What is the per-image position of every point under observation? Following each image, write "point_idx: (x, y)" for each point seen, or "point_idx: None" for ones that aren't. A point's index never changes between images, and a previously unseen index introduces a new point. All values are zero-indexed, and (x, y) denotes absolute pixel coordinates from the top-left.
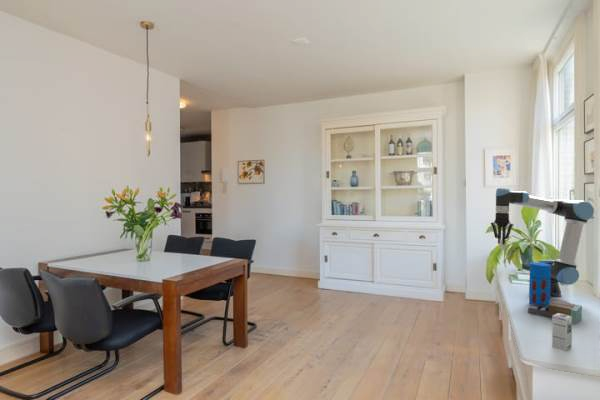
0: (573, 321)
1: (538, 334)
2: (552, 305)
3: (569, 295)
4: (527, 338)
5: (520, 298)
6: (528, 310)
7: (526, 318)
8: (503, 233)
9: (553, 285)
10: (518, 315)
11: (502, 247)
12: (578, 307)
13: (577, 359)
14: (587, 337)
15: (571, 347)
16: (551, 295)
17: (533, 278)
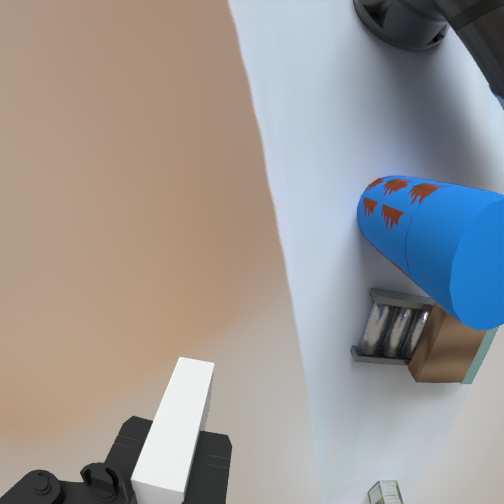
0: None
1: (355, 467)
2: (425, 380)
3: None
4: (332, 489)
5: (319, 155)
6: (353, 355)
7: (342, 401)
8: None
9: (444, 24)
10: (321, 391)
11: (206, 415)
12: (488, 345)
13: None
14: (443, 426)
15: (396, 481)
16: (422, 49)
17: (418, 285)
